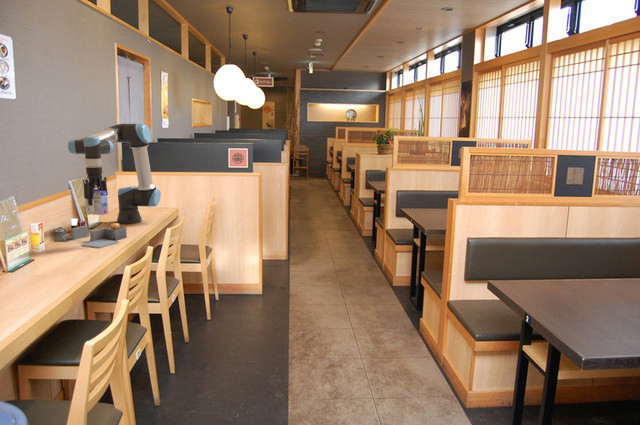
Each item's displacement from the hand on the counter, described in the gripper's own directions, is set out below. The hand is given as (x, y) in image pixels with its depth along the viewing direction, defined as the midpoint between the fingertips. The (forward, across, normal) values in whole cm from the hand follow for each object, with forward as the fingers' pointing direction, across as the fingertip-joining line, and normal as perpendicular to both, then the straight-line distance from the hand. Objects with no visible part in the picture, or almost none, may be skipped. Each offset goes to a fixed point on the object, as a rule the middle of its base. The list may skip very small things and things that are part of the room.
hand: (97, 210), depth 248 cm
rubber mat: (+18, 0, 0) cm, 18 cm away
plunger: (+17, -13, -2) cm, 21 cm away
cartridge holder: (+18, -7, -15) cm, 25 cm away
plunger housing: (+18, -13, -2) cm, 23 cm away
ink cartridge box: (+2, 0, 0) cm, 2 cm away
